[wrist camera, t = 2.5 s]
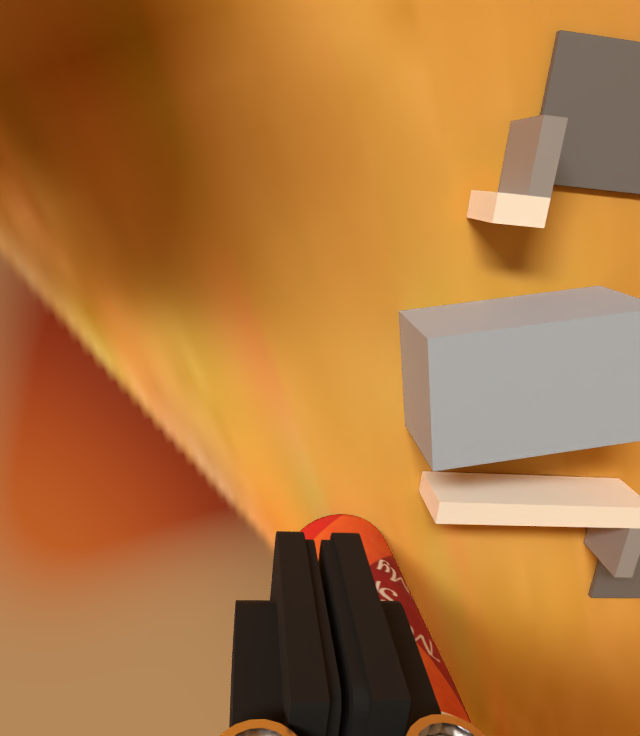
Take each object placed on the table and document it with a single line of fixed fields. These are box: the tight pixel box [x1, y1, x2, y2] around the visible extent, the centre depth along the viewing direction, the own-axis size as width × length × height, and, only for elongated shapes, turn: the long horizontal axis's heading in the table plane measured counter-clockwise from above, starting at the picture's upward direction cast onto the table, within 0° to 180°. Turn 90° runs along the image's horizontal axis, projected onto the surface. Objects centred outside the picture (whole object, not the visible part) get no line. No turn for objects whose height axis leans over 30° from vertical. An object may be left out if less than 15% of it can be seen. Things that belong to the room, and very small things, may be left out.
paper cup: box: [300, 514, 471, 723], centre depth 25 cm, size 8×8×14 cm
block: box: [399, 286, 640, 471], centre depth 27 cm, size 6×10×5 cm, turn 96°
